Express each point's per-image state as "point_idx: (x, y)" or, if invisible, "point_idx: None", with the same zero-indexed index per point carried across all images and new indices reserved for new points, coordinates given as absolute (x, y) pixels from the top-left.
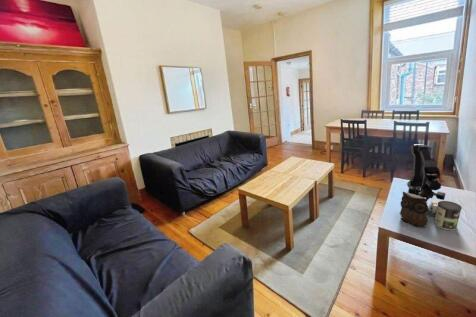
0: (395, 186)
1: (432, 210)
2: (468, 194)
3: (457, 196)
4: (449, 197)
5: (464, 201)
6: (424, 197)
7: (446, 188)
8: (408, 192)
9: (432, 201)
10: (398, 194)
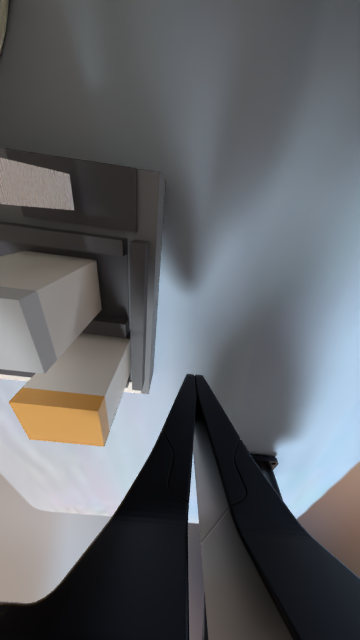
0: (317, 497)
1: (89, 262)
2: (36, 501)
3: (59, 487)
4: (81, 477)
5: (19, 467)
6: (214, 507)
7: (111, 514)
8: (275, 478)
9: (92, 433)
10: (334, 448)
